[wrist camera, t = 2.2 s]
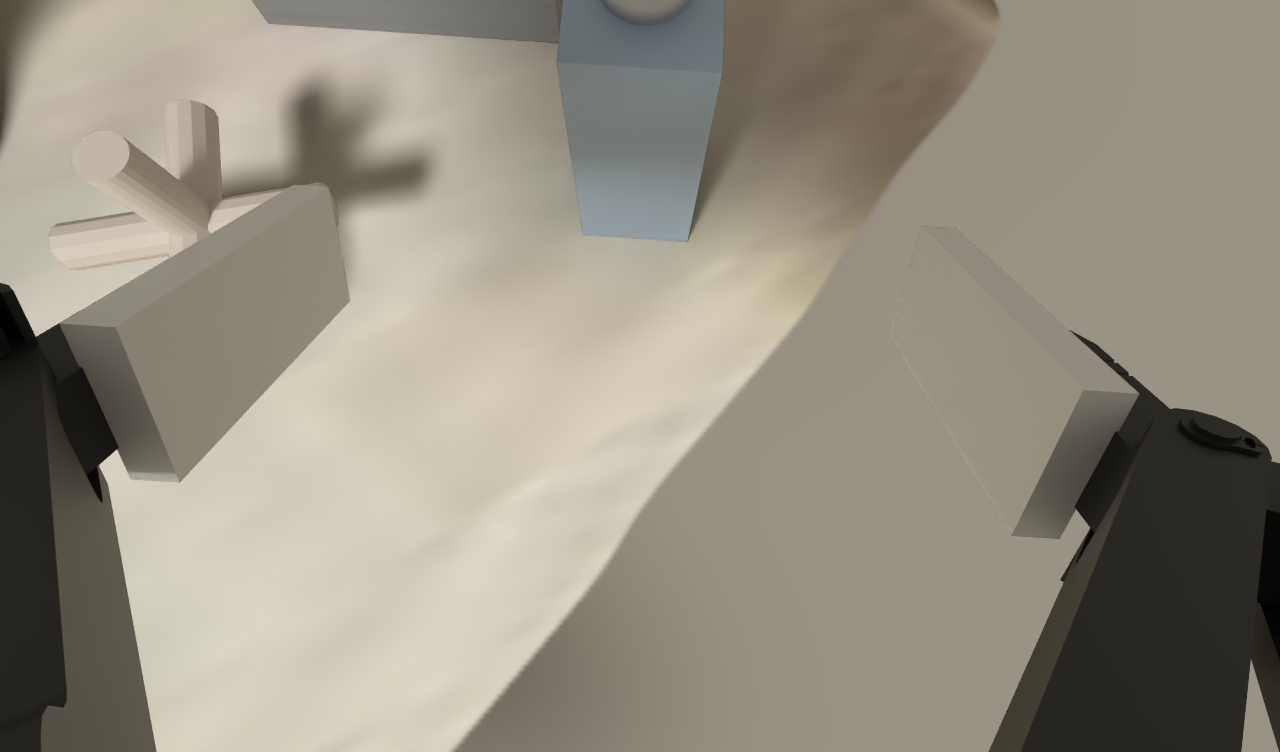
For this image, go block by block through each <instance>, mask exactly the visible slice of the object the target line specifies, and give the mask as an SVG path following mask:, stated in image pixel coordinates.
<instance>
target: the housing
mask: <svg viewBox="0 0 1280 752" xmlns="http://www.w3.org/2000/svg"><path fill="white" fill-rule="evenodd" d="M252 1H253V3H254V4H255V6H256V7H257V8H258V10H259V11H260V13H261V14H262V15H263V17H264V18H265V20H266V21H267V22H268V23H269V24H284V25H299V26H314V27H329V28H344V29H359V30H374V31H389V32H404V33H419V34H434V35H449V36H464V37H479V38H494V39H509V40H524V41H539V42H554V43H559V34H560V24H561V15H562V5H563V0H252Z"/></svg>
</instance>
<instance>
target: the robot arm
mask: <svg viewBox="0 0 1280 752" xmlns="http://www.w3.org/2000/svg"><path fill="white" fill-rule="evenodd" d="M349 301H350V296H349V291H348V285H347V280H346V275H345V270H344V265H343V260H342V255H341V249H340V244H339V239H338V234H337V229H336V224H335V218H334V213H333V208H332V203H331V198H330V193H329V187H320V186H305V185H292V186H291V187H289V188H287V189H286V190H284V191H282V192H281V193H279V194H277V195H275V196H274V197H272V198H270V199H269V200H267V201H265V202H264V203H262V204H260V205H259V206H257V207H255V208H254V209H252V210H250V211H248V212H247V213H245V214H243V215H242V216H240V217H238V218H237V219H235V220H233V221H232V222H230V223H228V224H226V225H225V226H223V227H221V228H220V229H218V230H216V231H215V232H213V233H211V234H210V235H208V236H206V237H204V238H203V239H201V240H199V241H198V242H196V243H194V244H193V245H191V246H189V247H188V248H186V249H184V250H183V251H181V252H179V253H177V254H176V255H174V256H172V257H171V258H169V259H167V260H166V261H164V262H162V263H161V264H159V265H157V266H155V267H154V268H152V269H150V270H149V271H147V272H145V273H144V274H142V275H140V276H139V277H137V278H135V279H133V280H132V281H130V282H128V283H126V284H125V285H123V286H121V287H120V288H118V289H116V290H115V291H113V292H111V293H110V294H108V295H106V296H105V297H103V298H101V299H99V300H98V301H96V302H94V303H93V304H91V305H89V306H88V307H86V308H84V309H83V310H81V311H79V312H77V313H76V314H74V315H72V316H71V317H69V318H67V319H66V320H64V321H62V322H61V323H59V324H57V325H55V326H54V327H52V328H50V329H49V330H47V331H45V332H44V333H42V334H40V335H39V336H37V337H36V336H35V334H34V332H33V330H32V328H31V326H30V324H29V322H28V320H27V318H26V316H25V314H24V312H23V310H22V308H21V306H20V304H19V301H18V299H17V297H16V295H15V293H14V291H13V290H12V289H11V288H10V286H9V285H6V284H2V283H0V752H156V747H155V741H154V736H153V730H152V725H151V719H150V714H149V708H148V703H147V697H146V692H145V686H144V681H143V675H142V670H141V664H140V659H139V653H138V648H137V642H136V637H135V631H134V626H133V620H132V615H131V609H130V604H129V598H128V593H127V587H126V582H125V576H124V571H123V565H122V560H121V554H120V549H119V543H118V538H117V532H116V527H115V521H114V516H113V510H112V505H111V499H110V494H109V488H108V484H107V482H106V480H105V478H104V476H103V473H102V471H101V469H100V467H99V465H100V464H101V463H102V462H103V461H104V460H105V459H106V458H107V457H109V456H110V455H111V454H112V453H113V452H114V451H115V450H118V452H119V454H120V457H121V459H122V461H123V463H124V465H125V467H126V470H127V472H128V474H129V476H130V478H131V479H133V480H148V481H164V482H179V483H180V482H181V481H182V480H183V479H184V477H185V476H186V475H187V474H188V473H189V472H190V471H191V470H192V469H193V468H194V467H195V466H196V465H197V464H198V463H199V461H200V460H201V459H202V458H203V457H204V456H205V455H206V454H207V453H208V452H209V451H210V450H211V449H212V448H213V447H214V445H215V444H216V443H217V442H218V441H219V440H220V439H221V438H222V437H223V436H224V435H225V434H226V433H227V432H228V431H229V429H230V428H231V427H232V426H233V425H234V424H235V423H236V422H237V421H238V420H239V419H240V418H241V417H242V416H243V415H244V413H245V412H246V411H247V410H248V409H249V408H250V407H251V406H252V405H253V404H254V403H255V402H256V401H257V400H258V399H259V397H260V396H261V395H262V394H263V393H264V392H265V391H266V390H267V389H268V388H269V387H270V386H271V385H272V384H273V383H274V381H275V380H276V379H277V378H278V377H279V376H280V375H281V374H282V373H283V372H284V371H285V370H286V369H287V368H288V367H289V365H290V364H291V363H292V362H293V361H294V360H295V359H296V358H297V357H298V356H299V355H300V354H301V353H302V352H303V351H304V349H305V348H306V347H307V346H308V345H309V344H310V343H311V342H312V341H313V340H314V339H315V338H316V337H317V336H318V334H319V333H320V332H321V331H322V330H323V329H324V328H325V327H326V326H327V325H328V324H329V323H330V322H331V321H332V320H333V318H334V317H335V316H336V315H337V314H338V313H339V312H340V311H341V310H342V309H343V308H344V307H345V306H346V305H347V304H348V302H349ZM890 337H891V339H892V340H893V342H894V344H895V345H896V347H897V349H898V351H899V352H900V354H901V355H902V357H903V359H904V360H905V362H906V364H907V365H908V367H909V369H910V370H911V372H912V373H913V375H914V377H915V378H916V380H917V382H918V383H919V385H920V387H921V388H922V390H923V392H924V393H925V394H926V397H927V398H928V400H929V401H930V403H931V405H932V406H933V408H934V410H935V411H936V413H937V415H938V416H939V418H940V419H941V421H942V423H943V424H944V426H945V428H946V429H947V431H948V432H949V434H950V436H951V438H952V439H953V441H954V442H955V444H956V446H957V447H958V449H959V451H960V452H961V454H962V456H963V457H964V459H965V461H966V462H967V464H968V465H969V467H970V469H971V470H972V472H973V474H974V475H975V477H976V479H977V480H978V482H979V484H980V485H981V487H982V488H983V490H984V492H985V493H986V495H987V497H988V498H989V500H990V502H991V503H992V505H993V506H994V508H995V510H996V512H997V513H998V515H999V516H1000V518H1001V520H1002V521H1003V523H1004V525H1005V526H1006V528H1007V530H1008V531H1009V533H1010V534H1011V536H1022V537H1038V538H1053V539H1060V537H1061V535H1062V534H1063V531H1064V530H1065V528H1066V526H1067V524H1068V523H1069V521H1070V519H1071V517H1072V515H1073V514H1074V512H1075V510H1076V509H1077V511H1078V512H1079V513H1080V515H1081V516H1082V517H1083V519H1084V520H1085V521H1086V523H1087V524H1088V525H1089V526H1090V529H1089V531H1088V533H1087V535H1086V536H1085V538H1084V540H1083V542H1082V543H1081V545H1080V547H1079V549H1078V550H1077V552H1076V554H1075V555H1074V557H1073V559H1072V561H1071V562H1070V564H1069V566H1068V568H1067V569H1066V571H1065V573H1064V574H1063V576H1062V578H1061V581H1063V582H1064V583H1063V586H1062V588H1061V590H1060V592H1059V594H1058V597H1057V599H1056V601H1055V604H1054V606H1053V608H1052V610H1051V613H1050V615H1049V617H1048V619H1047V621H1046V624H1045V626H1044V628H1043V631H1042V633H1041V635H1040V637H1039V639H1038V642H1037V644H1036V646H1035V648H1034V651H1033V653H1032V655H1031V657H1030V660H1029V662H1028V664H1027V666H1026V669H1025V671H1024V673H1023V675H1022V678H1021V680H1020V682H1019V684H1018V687H1017V689H1016V691H1015V694H1014V696H1013V698H1012V700H1011V703H1010V705H1009V707H1008V709H1007V711H1006V714H1005V716H1004V718H1003V720H1002V723H1001V725H1000V727H999V729H998V732H997V734H996V736H995V738H994V741H993V743H992V745H991V747H990V750H989V752H1241V749H1242V739H1243V729H1244V719H1245V709H1246V700H1247V691H1248V681H1249V671H1250V662H1251V660H1252V663H1253V666H1254V670H1255V673H1256V676H1257V680H1258V683H1259V686H1260V690H1261V693H1262V696H1263V700H1264V703H1265V706H1266V710H1267V713H1268V716H1269V719H1270V723H1271V726H1272V729H1273V733H1274V736H1275V739H1276V742H1277V746H1278V749H1279V752H1280V463H1276V462H1271V459H1272V457H1271V455H1270V452H1269V449H1268V448H1267V447H1266V446H1265V445H1264V444H1263V443H1262V442H1261V441H1260V440H1259V439H1258V438H1257V437H1256V436H1254V435H1252V434H1251V433H1249V432H1247V431H1246V430H1244V429H1242V428H1241V427H1239V426H1237V425H1235V424H1233V423H1230V422H1228V421H1225V420H1223V419H1221V418H1218V417H1215V416H1212V415H1208V414H1205V413H1202V412H1198V411H1194V410H1186V409H1177V408H1175V409H1169V408H1168V407H1167V406H1166V405H1165V404H1164V403H1163V402H1161V401H1160V400H1159V399H1158V398H1157V397H1155V395H1153V394H1152V393H1151V392H1150V391H1149V390H1148V389H1147V388H1145V387H1144V386H1143V385H1142V384H1141V383H1140V382H1139V381H1137V380H1136V379H1135V378H1134V377H1133V376H1129V375H1128V374H1129V373H1128V372H1127V371H1126V370H1125V369H1124V368H1123V367H1122V366H1120V365H1119V364H1118V363H1114V360H1113V359H1112V358H1111V357H1110V356H1109V355H1108V354H1107V353H1106V352H1104V351H1103V350H1102V349H1101V348H1100V347H1099V346H1098V345H1096V344H1095V343H1093V342H1091V341H1089V340H1087V339H1085V338H1083V337H1081V336H1080V335H1078V334H1076V333H1074V332H1072V331H1071V330H1068V329H1067V328H1066V327H1065V326H1064V325H1063V324H1062V323H1061V322H1059V321H1058V320H1057V319H1056V318H1055V317H1054V316H1053V315H1052V314H1051V313H1049V312H1048V311H1047V310H1046V309H1045V308H1044V307H1043V306H1042V305H1040V304H1039V303H1038V302H1037V301H1036V300H1035V299H1034V298H1033V297H1032V296H1030V295H1029V294H1028V293H1027V292H1026V291H1025V290H1024V289H1023V288H1022V287H1020V286H1019V285H1018V284H1017V283H1016V282H1015V281H1014V280H1013V279H1012V278H1011V277H1009V276H1008V275H1007V274H1006V273H1005V272H1004V271H1003V270H1002V269H1001V268H999V267H998V266H997V265H996V264H995V263H994V262H993V261H992V260H990V259H989V258H988V257H987V256H986V255H985V254H984V253H983V252H982V251H981V250H979V249H978V248H977V247H976V246H975V245H974V244H973V243H972V242H971V241H969V240H968V239H967V238H966V237H965V236H964V235H963V234H962V233H961V232H959V231H958V230H957V229H956V228H944V227H929V226H921V229H920V233H919V236H918V240H917V243H916V247H915V250H914V253H913V257H912V260H911V263H910V267H909V270H908V274H907V277H906V281H905V284H904V287H903V291H902V294H901V298H900V301H899V305H898V308H897V311H896V315H895V318H894V322H893V325H892V329H891V332H890Z"/></svg>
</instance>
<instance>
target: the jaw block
mask: <svg viewBox="0 0 1280 752" xmlns="http://www.w3.org/2000/svg"><path fill="white" fill-rule="evenodd" d="M724 21H725V0H563V5H562V15H561V24H560V34H559V44H558V53H557V68H558V75H559V81H560V88H561V94H562V101H563V107H564V114H565V121H566V127H567V134H568V140H569V147H570V153H571V160H572V166H573V173H574V179H575V186H576V192H577V199H578V205H579V212H580V218H581V225H582V231H583V235H591V236H607V237H622V238H638V239H653V240H668V241H684V242H687V241H688V236H689V232H690V227H691V222H692V217H693V212H694V208H695V203H696V198H697V193H698V188H699V184H700V179H701V174H702V169H703V164H704V160H705V155H706V150H707V145H708V140H709V136H710V131H711V126H712V121H713V116H714V111H715V107H716V102H717V97H718V92H719V87H720V83H721V78H722V73H723V47H724Z"/></svg>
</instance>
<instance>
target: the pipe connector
mask: <svg viewBox="0 0 1280 752" xmlns="http://www.w3.org/2000/svg"><path fill="white" fill-rule="evenodd" d="M164 118H165V147H166V170H165V169H164V168H162V167H161V166H160V165H159V164H157V163H156V162H155V161H153V160H152V159H151V158H149V157H148V156H147V155H146V154H144V153H143V152H142V151H140V150H139V149H138V148H137V147H135V146H134V145H133V144H131V143H130V142H129V141H127V140H126V139H125V138H124V137H122V136H121V135H119V134H117V133H115V132H111V131H98V132H94V133H91V134H89V135H87V136H85V137H84V138H83V139H82V140H80V141H79V142H78V144H77V145H76V146H75V148H74V150H73V152H72V155H71V166H72V169H73V171H74V173H75V174H76V175H77V176H78V177H80V178H81V179H83V180H84V181H86V182H87V183H89V184H91V185H92V186H94V187H95V188H97V189H98V190H100V191H102V192H103V193H105V194H106V195H108V196H109V197H111V198H113V199H114V200H116V201H117V202H119V203H120V204H122V205H123V206H125V207H127V208H128V209H130V210H131V211H133V212H128V213H122V214H116V215H109V216H103V217H97V218H91V219H84V220H78V221H72V222H65V223H59V224H57V225H55V226H53V227H51V229H50V232H49V236H48V239H49V244H50V249H51V251H52V252H53V254H54V256H55V257H56V259H57V260H58V262H60V263H61V264H62V265H64V266H65V267H66V268H68V269H72V270H84V269H90V268H96V267H102V266H108V265H114V264H120V263H127V262H133V261H139V260H145V259H151V258H157V257H163V256H169V258H171V257H172V256H174V255H176V254H177V253H179V252H181V251H183V250H184V249H186V248H188V247H189V246H191V245H193V244H194V243H196V242H198V241H199V240H201V239H203V238H204V237H206V236H208V235H210V234H211V233H213V232H215V231H216V230H218V229H220V228H221V227H223V226H225V225H226V224H228V223H230V222H232V221H233V220H235V219H237V218H238V217H240V216H242V215H243V214H245V213H247V212H248V211H250V210H252V209H254V208H255V207H257V206H259V205H260V204H262V203H264V202H265V201H267V200H269V199H270V198H272V197H274V196H275V195H277V194H279V193H281V192H282V191H284V190H286V189H287V188H289V187H286V188H280V189H274V190H267V191H261V192H255V193H248V194H242V195H236V196H229V197H222V179H221V161H220V142H219V124H218V116H217V114H216V113H215V111H214V110H213V109H211V108H210V107H208V106H207V105H205V104H203V103H199V102H196V101H192V100H175V101H172V102H170V103H167V105H166V107H165V109H164ZM305 186H320V187H327V185H326V184H324V183H323V182H318V183H312V184H305ZM329 193H330V198H331V203H332V208H333V213H334V218H335V224H336V227H337V225H338V213H337V207H336V203H335V201H334V198H333V195H332V193H331V191H330V190H329Z"/></svg>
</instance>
